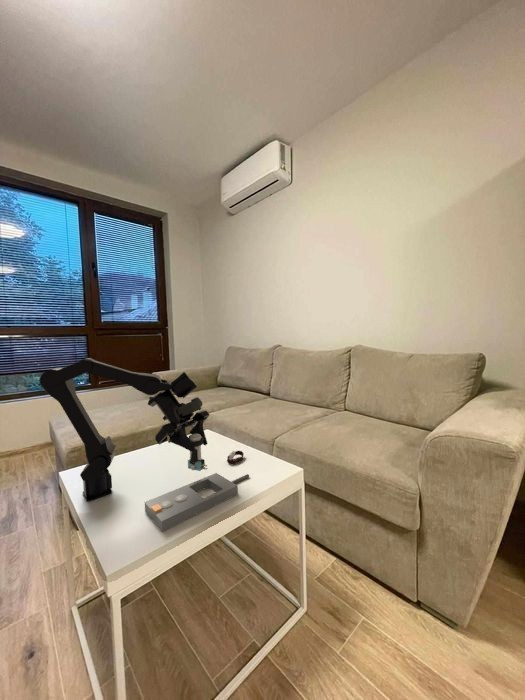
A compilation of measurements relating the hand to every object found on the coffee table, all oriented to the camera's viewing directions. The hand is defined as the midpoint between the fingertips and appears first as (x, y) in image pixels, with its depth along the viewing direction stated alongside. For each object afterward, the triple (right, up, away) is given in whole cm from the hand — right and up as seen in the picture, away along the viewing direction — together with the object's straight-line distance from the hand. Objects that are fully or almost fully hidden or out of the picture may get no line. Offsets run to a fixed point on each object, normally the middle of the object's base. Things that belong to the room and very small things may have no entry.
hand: (200, 447), depth 84 cm
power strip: (+3, -12, -4) cm, 13 cm away
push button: (-1, -7, +1) cm, 7 cm away
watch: (+9, -12, +19) cm, 24 cm away
